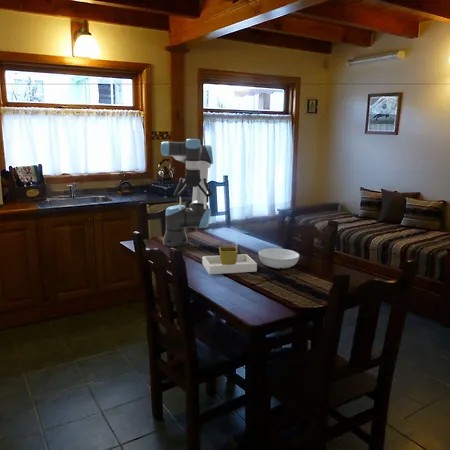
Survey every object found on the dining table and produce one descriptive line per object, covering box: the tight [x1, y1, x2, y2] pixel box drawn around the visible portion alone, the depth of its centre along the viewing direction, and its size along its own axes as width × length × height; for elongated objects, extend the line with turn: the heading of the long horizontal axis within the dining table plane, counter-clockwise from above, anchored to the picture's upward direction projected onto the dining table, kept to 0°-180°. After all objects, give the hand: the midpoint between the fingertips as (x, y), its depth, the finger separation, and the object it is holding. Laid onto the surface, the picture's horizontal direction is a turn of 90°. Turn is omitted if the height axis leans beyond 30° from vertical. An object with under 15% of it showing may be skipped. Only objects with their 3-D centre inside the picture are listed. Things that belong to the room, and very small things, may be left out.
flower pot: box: [218, 246, 239, 265], centre depth 216 cm, size 9×9×9 cm
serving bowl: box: [258, 247, 300, 269], centre depth 221 cm, size 21×21×7 cm
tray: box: [201, 253, 258, 275], centre depth 217 cm, size 17×24×4 cm
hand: (192, 209), depth 228 cm, fingers open, 13 cm apart
